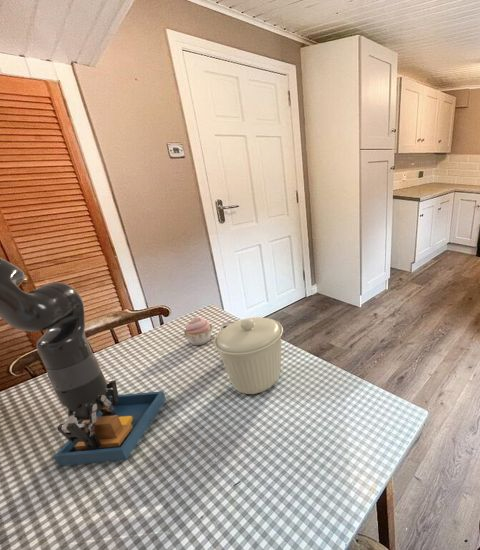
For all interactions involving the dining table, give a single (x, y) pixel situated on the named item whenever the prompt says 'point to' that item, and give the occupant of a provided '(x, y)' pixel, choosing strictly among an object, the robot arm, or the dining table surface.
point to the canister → (251, 353)
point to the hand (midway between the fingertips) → (103, 435)
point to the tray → (142, 413)
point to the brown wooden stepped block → (108, 433)
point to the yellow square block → (126, 420)
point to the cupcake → (198, 331)
